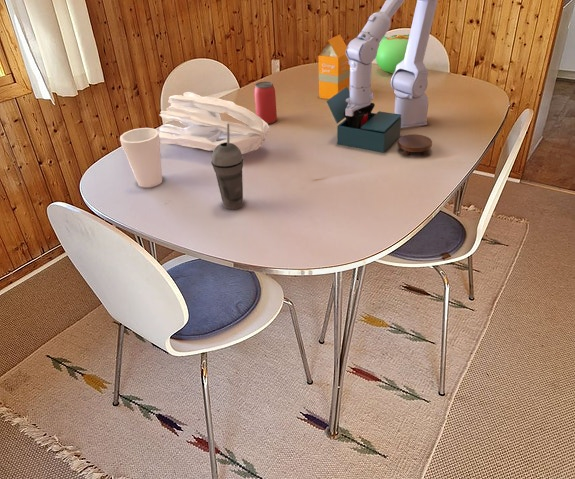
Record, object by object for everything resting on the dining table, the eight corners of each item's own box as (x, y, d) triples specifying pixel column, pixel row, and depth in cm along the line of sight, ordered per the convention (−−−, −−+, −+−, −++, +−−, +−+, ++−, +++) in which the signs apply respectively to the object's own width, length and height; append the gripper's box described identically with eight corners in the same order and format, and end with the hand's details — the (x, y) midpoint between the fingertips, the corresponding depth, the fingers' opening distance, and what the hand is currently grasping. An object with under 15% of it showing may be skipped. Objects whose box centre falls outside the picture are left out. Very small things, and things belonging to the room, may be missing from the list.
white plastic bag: (284, 110, 141) (185, 94, 155) (253, 93, 124) (146, 77, 138) (271, 169, 142) (174, 148, 156) (239, 160, 126) (135, 137, 140)
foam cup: (136, 194, 125) (124, 146, 117) (128, 179, 131) (116, 133, 124) (172, 184, 128) (163, 137, 120) (163, 170, 135) (153, 125, 127)
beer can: (274, 125, 157) (272, 87, 150) (254, 124, 158) (251, 87, 151) (279, 117, 162) (276, 80, 155) (259, 117, 164) (256, 80, 157)
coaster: (413, 143, 141) (414, 131, 139) (437, 153, 134) (439, 141, 132) (390, 152, 137) (391, 140, 135) (414, 163, 130) (415, 150, 128)
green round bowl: (374, 78, 190) (376, 38, 182) (375, 66, 204) (377, 28, 195) (422, 78, 187) (426, 37, 179) (420, 65, 201) (423, 27, 193)
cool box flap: (337, 123, 138) (336, 123, 138) (356, 108, 147) (355, 108, 147) (327, 100, 136) (326, 101, 136) (347, 86, 145) (346, 87, 145)
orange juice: (349, 93, 178) (350, 34, 167) (338, 100, 172) (338, 40, 161) (330, 90, 182) (330, 32, 171) (318, 97, 176) (317, 38, 165)
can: (363, 133, 147) (364, 108, 143) (369, 139, 143) (370, 114, 139) (347, 135, 146) (347, 111, 142) (353, 142, 142) (354, 117, 138)
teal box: (337, 145, 142) (337, 123, 138) (355, 129, 151) (356, 107, 147) (383, 154, 136) (384, 131, 132) (399, 136, 145) (401, 114, 141)
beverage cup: (218, 198, 121) (206, 119, 109) (248, 195, 121) (239, 117, 109) (217, 214, 115) (204, 132, 103) (248, 211, 115) (239, 129, 103)
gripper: (357, 75, 142) (356, 120, 150) (335, 91, 132) (335, 138, 140) (380, 78, 139) (378, 124, 147) (359, 94, 129) (358, 142, 137)
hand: (358, 131), depth 143 cm, fingers closed on can, 5 cm apart
